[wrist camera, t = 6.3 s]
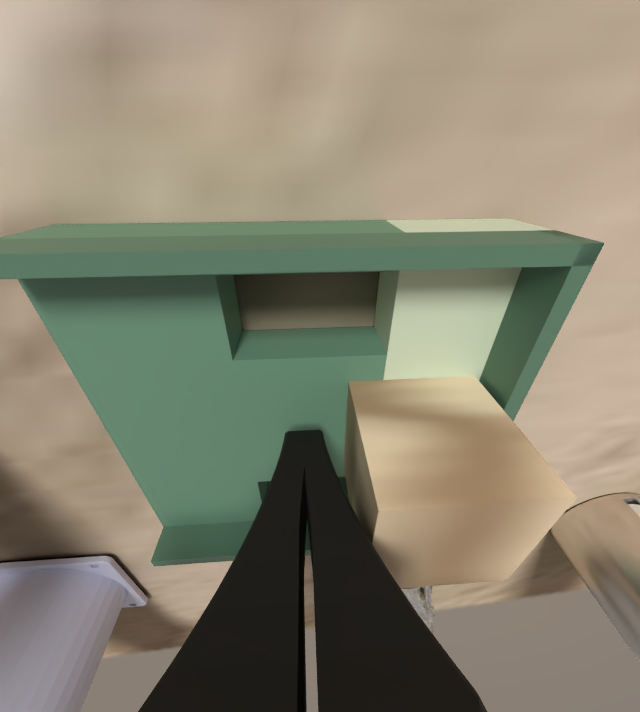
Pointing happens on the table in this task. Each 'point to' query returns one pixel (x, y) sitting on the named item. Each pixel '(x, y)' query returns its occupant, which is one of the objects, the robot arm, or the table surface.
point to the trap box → (279, 341)
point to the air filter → (607, 557)
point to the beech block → (445, 480)
